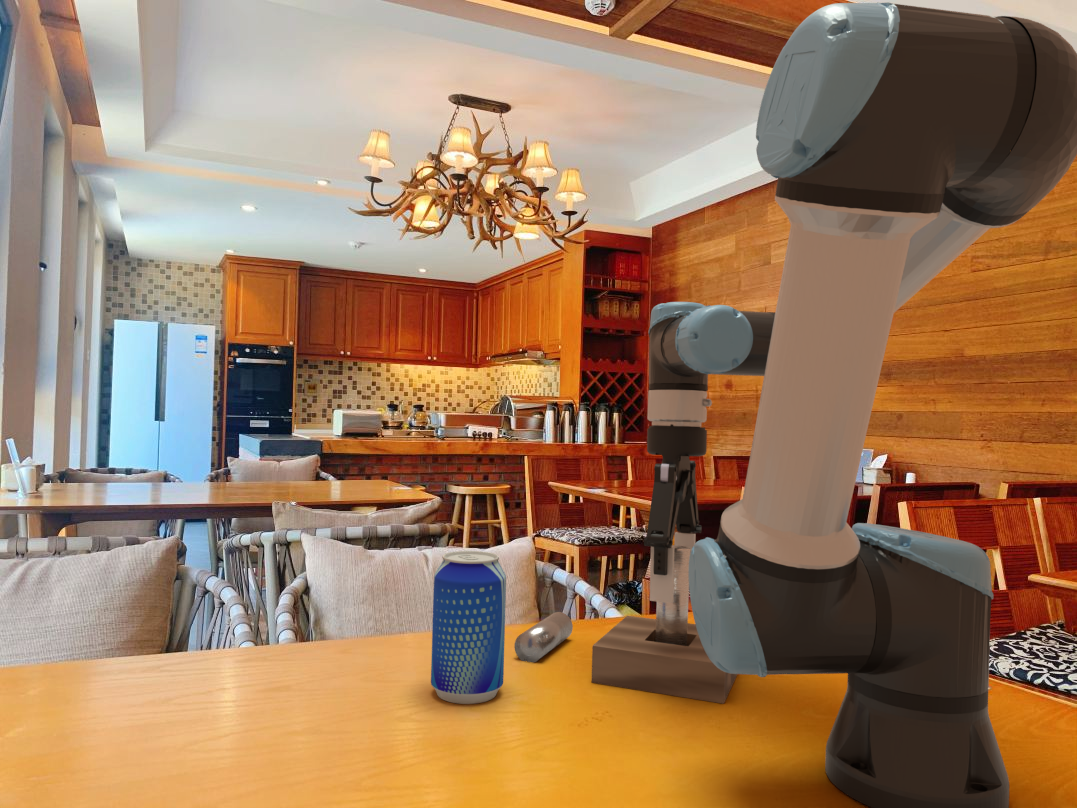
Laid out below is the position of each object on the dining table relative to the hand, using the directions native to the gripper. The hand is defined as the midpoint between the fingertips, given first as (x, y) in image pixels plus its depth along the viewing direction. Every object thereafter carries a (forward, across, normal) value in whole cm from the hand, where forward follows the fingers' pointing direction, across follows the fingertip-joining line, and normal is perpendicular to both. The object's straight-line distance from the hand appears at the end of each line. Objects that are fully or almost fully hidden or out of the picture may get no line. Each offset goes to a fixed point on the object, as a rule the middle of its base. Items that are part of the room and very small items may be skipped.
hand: (673, 591), depth 102 cm
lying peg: (+7, +2, +17) cm, 19 cm away
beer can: (+11, -18, +20) cm, 29 cm away
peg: (+10, +1, 0) cm, 11 cm away
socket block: (+10, 0, 0) cm, 11 cm away
